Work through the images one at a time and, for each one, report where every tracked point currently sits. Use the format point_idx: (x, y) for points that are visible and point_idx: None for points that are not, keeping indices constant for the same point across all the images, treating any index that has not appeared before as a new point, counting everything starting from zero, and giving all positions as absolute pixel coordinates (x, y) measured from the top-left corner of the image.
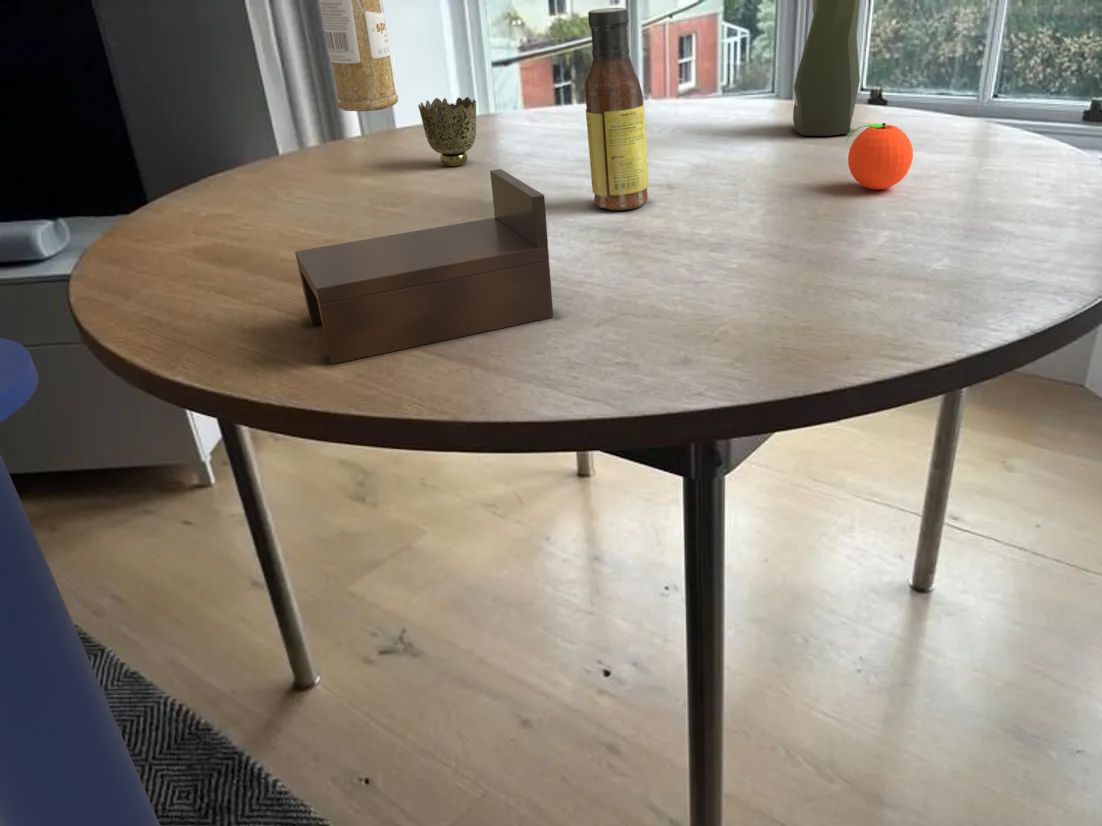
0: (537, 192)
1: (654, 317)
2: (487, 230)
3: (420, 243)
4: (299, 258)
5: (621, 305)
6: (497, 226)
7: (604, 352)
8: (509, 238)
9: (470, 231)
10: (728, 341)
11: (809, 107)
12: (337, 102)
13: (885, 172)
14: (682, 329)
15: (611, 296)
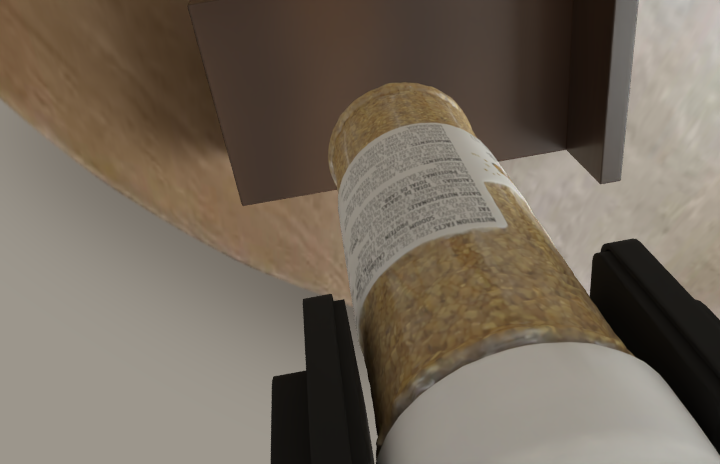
0: (619, 161)
1: (649, 149)
2: (534, 25)
3: (410, 54)
4: (201, 53)
5: (638, 97)
6: (557, 9)
7: (550, 221)
8: (549, 87)
9: (505, 19)
10: (674, 235)
11: None
12: (330, 170)
13: None
14: (654, 192)
15: (645, 58)
